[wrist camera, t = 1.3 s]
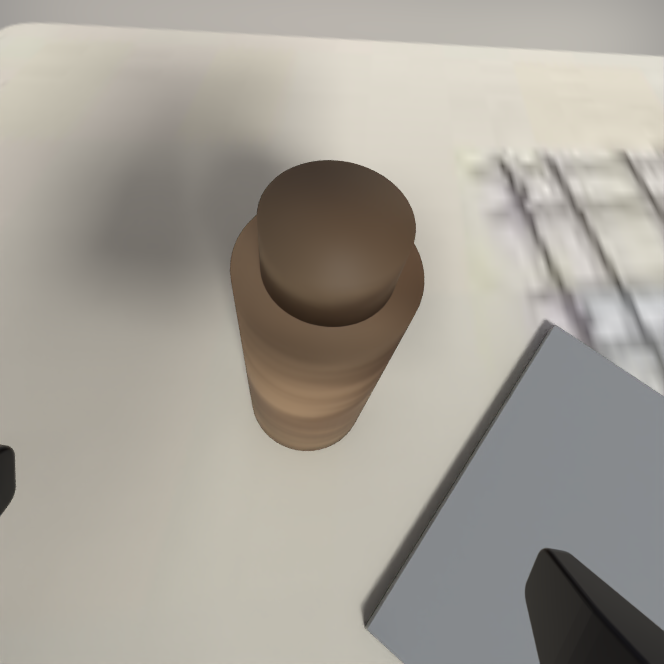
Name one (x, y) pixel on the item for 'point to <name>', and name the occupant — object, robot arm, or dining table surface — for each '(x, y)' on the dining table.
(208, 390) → the dining table surface
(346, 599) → the dining table surface
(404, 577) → the slate tile
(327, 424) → the pepper mill
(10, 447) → the robot arm
